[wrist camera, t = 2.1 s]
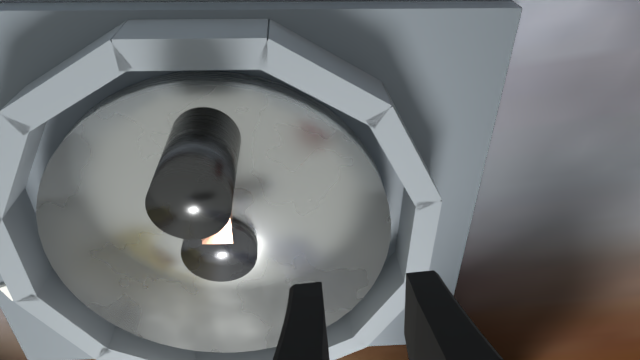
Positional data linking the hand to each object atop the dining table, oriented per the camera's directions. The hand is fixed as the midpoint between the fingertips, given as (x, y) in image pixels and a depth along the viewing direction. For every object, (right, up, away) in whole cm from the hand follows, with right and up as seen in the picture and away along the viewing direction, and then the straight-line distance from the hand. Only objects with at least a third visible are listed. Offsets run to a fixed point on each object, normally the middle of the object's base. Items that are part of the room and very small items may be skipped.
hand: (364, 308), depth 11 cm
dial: (-5, +1, +10) cm, 11 cm away
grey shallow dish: (-5, +2, +11) cm, 12 cm away
